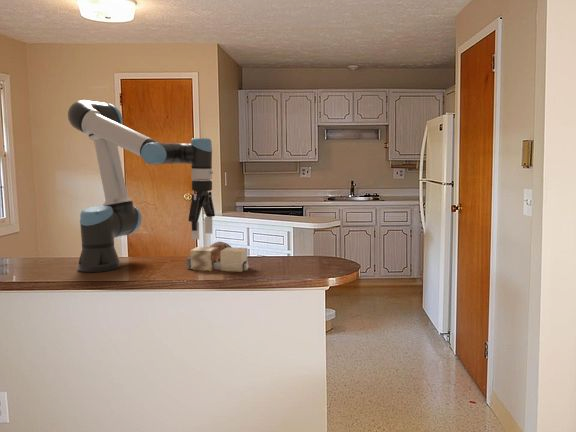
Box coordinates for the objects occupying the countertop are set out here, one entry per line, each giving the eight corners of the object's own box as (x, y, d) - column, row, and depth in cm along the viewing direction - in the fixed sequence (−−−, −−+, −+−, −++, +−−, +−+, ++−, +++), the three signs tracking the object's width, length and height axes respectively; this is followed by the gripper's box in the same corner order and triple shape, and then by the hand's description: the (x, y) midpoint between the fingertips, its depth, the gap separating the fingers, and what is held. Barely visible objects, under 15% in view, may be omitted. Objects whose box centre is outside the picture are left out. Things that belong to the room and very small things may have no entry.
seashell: (224, 261, 205) (213, 239, 207) (210, 270, 210) (200, 249, 212) (241, 256, 214) (231, 235, 216) (227, 266, 219) (217, 245, 220)
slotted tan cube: (190, 269, 194) (190, 250, 194) (198, 265, 202) (197, 246, 201) (212, 270, 193) (212, 250, 192) (219, 266, 200) (218, 247, 199)
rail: (185, 269, 195) (185, 249, 194) (193, 265, 202) (192, 246, 201) (244, 271, 190) (244, 251, 189) (250, 267, 197) (249, 248, 196)
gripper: (198, 182, 180) (199, 242, 183) (222, 178, 204) (222, 231, 207) (178, 181, 182) (179, 241, 185) (204, 178, 206) (205, 230, 209)
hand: (202, 236), depth 196 cm, fingers open, 13 cm apart
